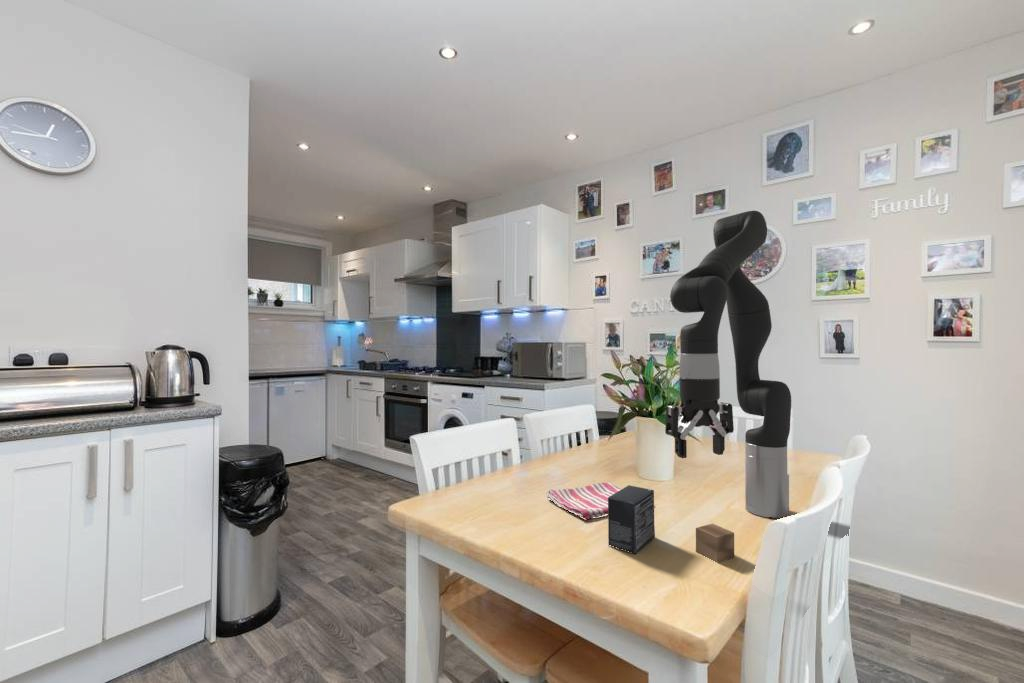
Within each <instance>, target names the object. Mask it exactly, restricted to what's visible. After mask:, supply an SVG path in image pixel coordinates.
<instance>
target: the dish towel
mask: <svg viewBox="0 0 1024 683" xmlns="http://www.w3.org/2000/svg"><path fill="white" fill-rule="evenodd" d="M622 489H623V488H622V487H619V486H617V485H616V484H613V483H611V482H595V483H591V484H589V485H585V486H581V487H573V488H561V489H552V488H549V489H548V491H547V492H546V494H547V496H546V498H547V499H548V498H550V499H551V500H552V501H553V502H555V503H556V504H558V505H560V506H561V507H563V508H565V509H566V510H568V511H569V512H571V513H570V514H572V513H574V514H575V515H574V514H573V515H574V516H577V515H578V516H577V517H579V516H581V517H583V518H585V519H589V518H593V517H599V516H602V515H605V514H608V497H610V496H612V495H613V494H615V493H617V492H618V491H620V490H622ZM573 499H574V500H575V501H572V500H573ZM576 499H579V501H576ZM553 502H552V503H553ZM566 510H565V511H566ZM568 511H567V512H568ZM569 512H568V513H569ZM589 520H590V519H589Z"/></svg>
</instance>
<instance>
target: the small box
mask: <svg viewBox="0 0 1024 683" xmlns="http://www.w3.org/2000/svg"><path fill="white" fill-rule="evenodd" d="M621 489H622V490H620V491H618V492H617V493H615V494H613V495H612V496H610V497H608V516H607V526H608V529H607V530H608V535H607V536H608V539H607V540H608V546H609V545H611V546H614V547H617V548H619V549H623V550H626V551H629V552H632V553H636V554H638V553H639V552H640V551H641V550H642V549H643V548H645V547H646V544H647V543H648V542H649V543H650V542H651V541H652V540H653V539H654V538H656V529H655V528H656V527H655V491H654V489H651V488H645V487H640V486H635V485H627V486H625V487H624V488H621ZM649 543H648V544H649ZM648 544H647V545H648ZM641 548H642V549H641ZM619 549H618V550H619ZM640 549H641V550H640ZM639 550H640V551H639ZM638 551H639V552H638ZM629 552H628V553H629ZM637 552H638V553H637ZM632 553H631V554H632Z"/></svg>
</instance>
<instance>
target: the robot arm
mask: <svg viewBox="0 0 1024 683" xmlns="http://www.w3.org/2000/svg"><path fill="white" fill-rule="evenodd" d="M712 234H713V235H712V236H713V240H714V241H713V242H714V246H715V248H713V249H712V250H711V251H710V252H708V253H707V254H706V255H705V256H704V258H703V259H702V260H701V261H700V262H699V264H698V266H696V267H695V268H693V269H690V270H689V271H688V272H686V273H684V274H683V275H682V276H680V277H679V278H678V279H677V280H676V281H675V283H673V286H672V288H671V290H670V297H669V299H670V303H671V306H672V307H673V308H674V309H675V311H678V312H680V313H683V314H684V313H685V314H687V313H688V314H689V313H703V314H702V316H701V318H700V320H698V321H696V322H694V323H689V324H686V325H684V326H682V327H681V329H680V345H679V346H680V347H679V348H680V349H679V350H680V351H679V352H680V355H679V356H680V358H679V364H678V365H679V371H678V372H679V377H678V378H679V398H680V401H681V402H680V405H679V406H678V405H677V406H675V405H669V404H668V405H666V408H665V429H664V432H665V435H667V436H671V437H673V438H674V452H675V454H676V456H677V457H678V458H681V459H686V458H687V457H688V456H687V454H688V452H687V450H688V449H687V439H686V438H687V436H688V435H689V432H691V431H693V429H694V428H700V427H702V426H704V427H708V428H709V429H710V431H711V432H712V433H713V434H712V452H713V454H716V455H717V456H720V455H721V456H722V455H724V452H725V448H726V447H725V446H726V445H725V444H726V443H725V442H726V441H725V440H726V439H725V438H726V436H727V435H728V434H732V433H734V430H735V428H734V416H733V415H734V414H733V405H732V403H729V402H728V403H727V402H718V400H719V399H720V397H721V396H720V395H721V392H720V390H721V389H720V388H721V385H720V384H721V382H720V380H721V379H720V376H721V375H720V372H721V371H720V370H721V369H720V360H719V354H718V352H719V344H718V343H719V341H718V340H719V329H720V325H721V319H722V318H723V317H722V316H723V313H724V309H725V306H726V308H727V314H728V324H729V327H730V332H731V337H732V338H731V339H732V343H733V344H732V345H733V353H734V361H735V378H736V379H735V380H736V381H735V382H736V395H737V396H736V397H737V401H738V405H739V407H740V409H741V410H742V411H743V412H744V413H746V414H748V415H753V416H758V417H759V416H760V417H763V422H762V424H761V425H760V426H759V427H757V428H750V429H746V432H745V434H744V435H745V436H744V437H745V439H744V440H745V443H744V445H745V447H744V448H745V451H744V452H745V454H744V455H745V458H744V461H745V462H744V464H745V480H744V481H745V483H744V484H745V497H744V498H745V509H746V511H748V512H749V513H751V514H753V515H756V516H759V517H764V518H769V517H772V518H771V519H782V518H781V517H784V518H786V517H788V513H790V475H789V473H788V440H789V436H790V432H791V416H792V394H791V391H790V388H789V386H788V385H787V384H786V383H785V382H782V381H778V380H769V379H761V378H760V372H759V362H760V361H759V360H760V356H761V354H762V351H763V350H764V347H765V345H766V344H767V341H768V340H769V337H770V336H771V332H772V329H773V328H772V318H771V309H770V305H769V300H768V299H767V297H766V296H765V295H764V294H763V292H762V291H761V290H760V289H759V288H758V287H757V286H756V285H755V284H754V283H753V282H752V280H750V279H749V278H748V277H747V275H746V274H745V272H743V271H744V270H742V268H741V265H742V264H743V263H744V262H745V261H746V260H747V259H748V258H750V257H751V255H753V254H754V253H755V252H756V251H758V250H759V249H760V248H762V246H763V245H764V244H765V242H766V240H767V236H768V226H767V222H766V218H765V216H764V215H763V213H761V212H760V211H759V210H747V211H744V212H740V213H736V214H733V215H728V216H725V217H721V218H719V219H717V220H716V221H715V222H714V224H713V233H712ZM718 414H719V417H718V416H717V415H718ZM681 415H682V416H681ZM680 416H681V417H680ZM679 418H680V419H679ZM785 516H786V517H785Z"/></svg>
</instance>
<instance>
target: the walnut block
mask: <svg viewBox="0 0 1024 683" xmlns="http://www.w3.org/2000/svg"><path fill="white" fill-rule="evenodd" d="M695 553H697V554H699V555H700V554H701V556H702V555H703V557H704V556H705V558H706V557H707V559H708V558H709V559H708V560H710V559H711V560H710V561H712V560H713V561H712V562H714V561H715V562H714V563H716V562H719V563H722V562H725V561H727V559H728V560H730V559H731V560H732V559H735V532H733V531H732V530H729V529H727V528H724V527H721V526H719V525H717V524H716V523H710V524H706V525H701V526H698V527H695ZM724 560H725V561H724ZM721 561H722V562H721Z"/></svg>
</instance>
